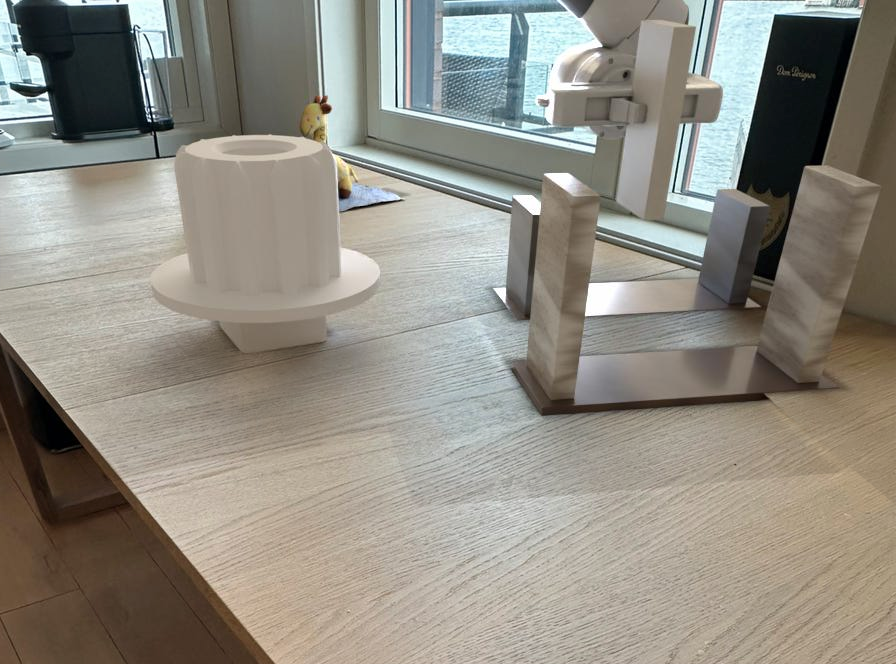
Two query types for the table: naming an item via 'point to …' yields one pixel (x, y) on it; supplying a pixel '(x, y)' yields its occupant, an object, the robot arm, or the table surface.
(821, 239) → the marble pillar rack
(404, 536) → the table surface
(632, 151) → the white rectangular block
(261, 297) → the flanged gear
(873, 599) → the table surface
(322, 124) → the stuffed giraffe
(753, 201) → the grey stand
